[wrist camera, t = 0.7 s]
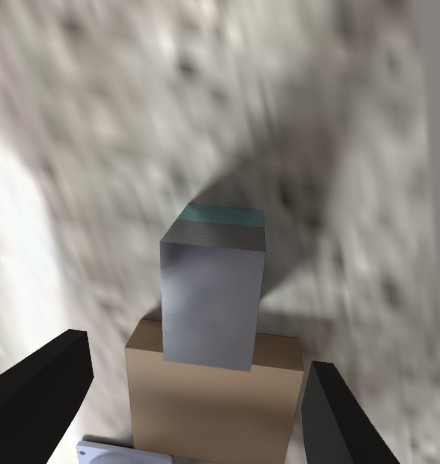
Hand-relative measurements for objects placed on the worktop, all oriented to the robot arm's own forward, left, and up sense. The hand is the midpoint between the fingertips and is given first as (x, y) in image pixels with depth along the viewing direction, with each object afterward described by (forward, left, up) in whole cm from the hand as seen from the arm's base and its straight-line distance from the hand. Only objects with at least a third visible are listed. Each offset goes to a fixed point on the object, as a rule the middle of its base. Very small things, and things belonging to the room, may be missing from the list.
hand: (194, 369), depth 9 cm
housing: (0, 0, -8) cm, 8 cm away
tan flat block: (-10, 0, -8) cm, 12 cm away
